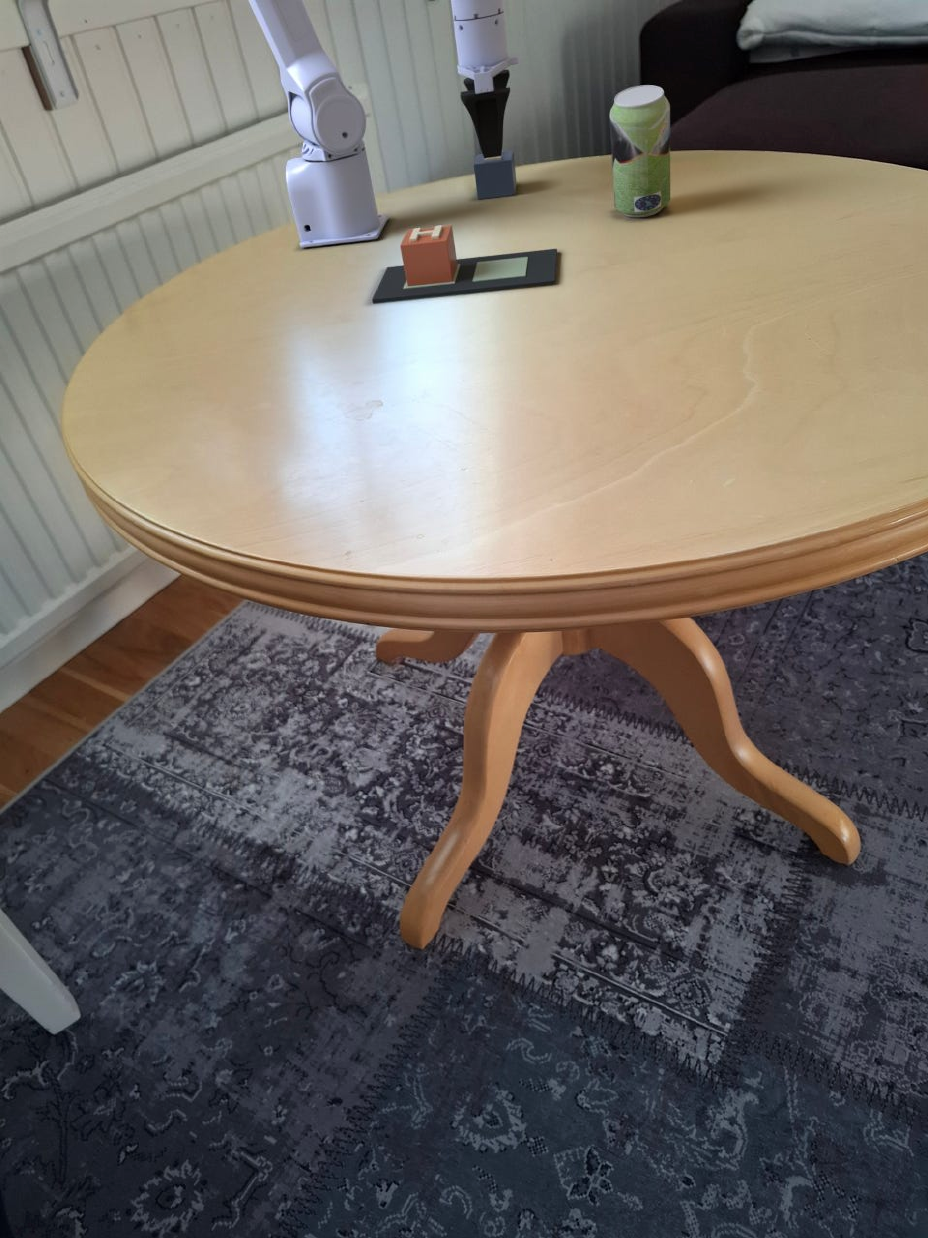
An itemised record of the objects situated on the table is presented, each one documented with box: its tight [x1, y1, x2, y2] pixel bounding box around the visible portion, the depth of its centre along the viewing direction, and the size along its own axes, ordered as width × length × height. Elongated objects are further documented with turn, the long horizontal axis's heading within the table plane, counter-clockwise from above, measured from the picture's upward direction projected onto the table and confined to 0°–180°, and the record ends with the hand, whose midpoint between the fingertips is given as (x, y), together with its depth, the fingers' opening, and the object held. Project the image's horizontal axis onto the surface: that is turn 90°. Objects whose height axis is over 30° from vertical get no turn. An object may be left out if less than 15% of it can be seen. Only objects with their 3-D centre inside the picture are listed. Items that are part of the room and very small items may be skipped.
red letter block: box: [400, 224, 458, 286], centre depth 88 cm, size 5×5×4 cm
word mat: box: [371, 248, 558, 304], centre depth 89 cm, size 18×9×1 cm, turn 84°
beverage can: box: [608, 84, 671, 219], centre depth 93 cm, size 6×7×12 cm
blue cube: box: [473, 149, 518, 200], centre depth 110 cm, size 5×5×4 cm
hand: (492, 148), depth 108 cm, fingers open, 7 cm apart
